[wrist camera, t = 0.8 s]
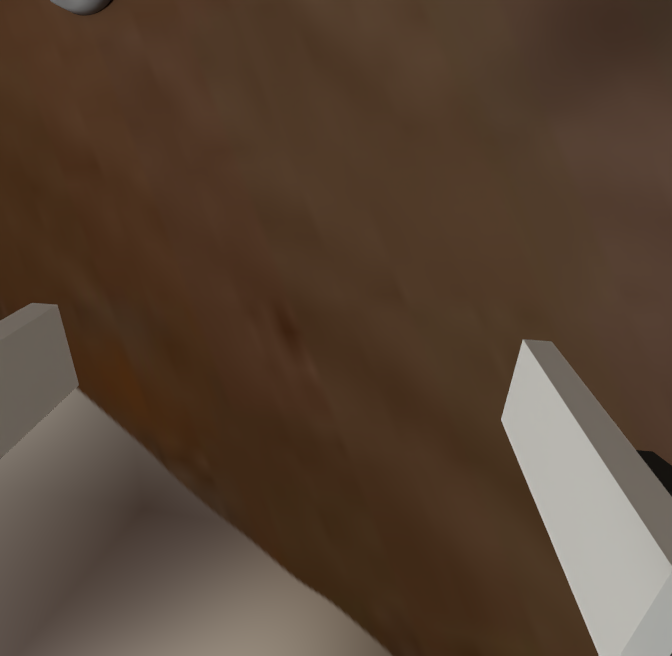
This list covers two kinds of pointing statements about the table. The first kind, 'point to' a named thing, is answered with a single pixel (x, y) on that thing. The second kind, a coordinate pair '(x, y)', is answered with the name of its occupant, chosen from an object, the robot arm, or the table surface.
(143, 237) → the table surface
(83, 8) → the bobbin
